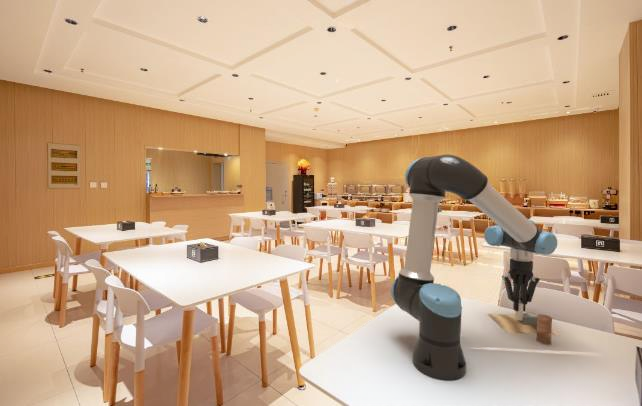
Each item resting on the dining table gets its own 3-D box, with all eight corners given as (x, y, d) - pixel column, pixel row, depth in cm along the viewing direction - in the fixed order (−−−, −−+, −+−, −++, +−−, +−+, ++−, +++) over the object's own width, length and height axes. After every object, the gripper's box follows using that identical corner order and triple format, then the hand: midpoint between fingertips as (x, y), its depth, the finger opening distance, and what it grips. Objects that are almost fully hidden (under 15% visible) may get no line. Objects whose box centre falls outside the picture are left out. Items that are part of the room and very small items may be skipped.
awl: (540, 348, 102) (542, 319, 102) (533, 342, 106) (534, 314, 106) (553, 348, 102) (555, 319, 101) (546, 342, 106) (547, 314, 105)
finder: (523, 324, 117) (523, 316, 117) (517, 320, 121) (518, 312, 121) (540, 325, 116) (540, 317, 116) (533, 320, 120) (534, 313, 120)
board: (506, 335, 111) (506, 332, 111) (487, 316, 127) (487, 313, 127) (559, 338, 109) (559, 334, 109) (532, 318, 125) (533, 315, 125)
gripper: (508, 261, 114) (506, 322, 116) (545, 262, 113) (542, 324, 114) (499, 256, 122) (496, 314, 123) (533, 257, 121) (530, 315, 122)
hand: (518, 318), depth 119 cm, fingers closed
